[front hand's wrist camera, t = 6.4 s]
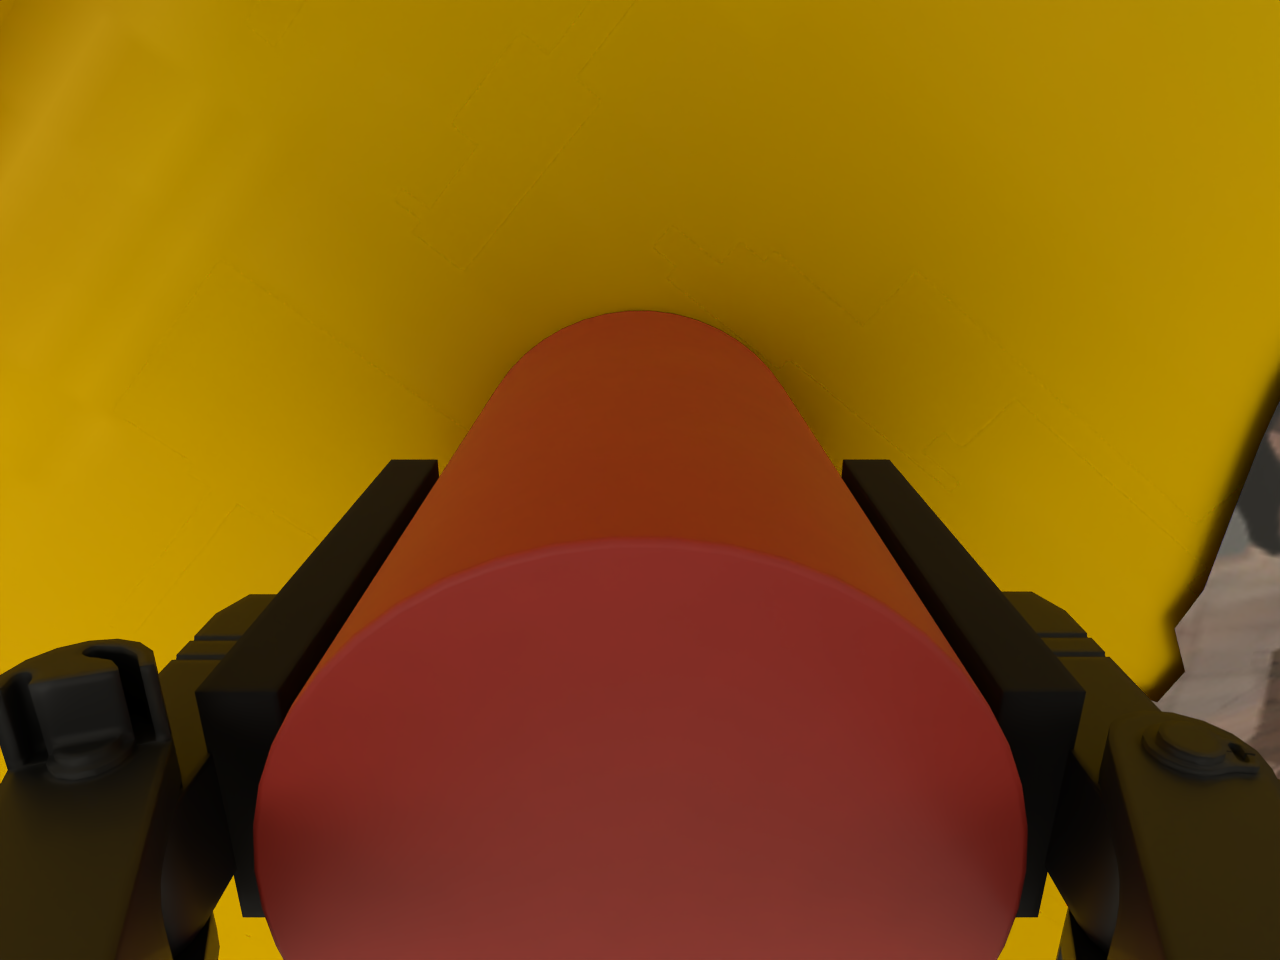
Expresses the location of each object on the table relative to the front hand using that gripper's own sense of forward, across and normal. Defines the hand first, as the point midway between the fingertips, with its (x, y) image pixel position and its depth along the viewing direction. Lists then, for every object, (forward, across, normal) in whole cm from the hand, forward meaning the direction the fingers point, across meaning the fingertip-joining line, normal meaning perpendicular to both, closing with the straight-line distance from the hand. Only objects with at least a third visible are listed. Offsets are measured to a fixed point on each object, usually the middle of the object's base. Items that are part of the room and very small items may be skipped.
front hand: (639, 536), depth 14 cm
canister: (+3, 0, 0) cm, 3 cm away
